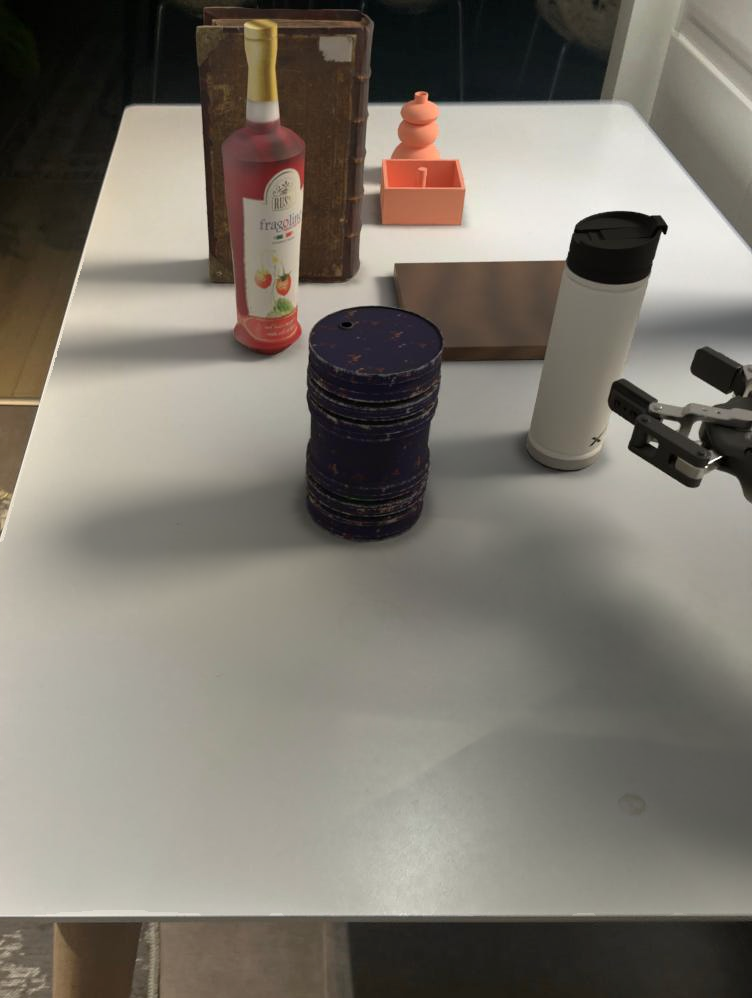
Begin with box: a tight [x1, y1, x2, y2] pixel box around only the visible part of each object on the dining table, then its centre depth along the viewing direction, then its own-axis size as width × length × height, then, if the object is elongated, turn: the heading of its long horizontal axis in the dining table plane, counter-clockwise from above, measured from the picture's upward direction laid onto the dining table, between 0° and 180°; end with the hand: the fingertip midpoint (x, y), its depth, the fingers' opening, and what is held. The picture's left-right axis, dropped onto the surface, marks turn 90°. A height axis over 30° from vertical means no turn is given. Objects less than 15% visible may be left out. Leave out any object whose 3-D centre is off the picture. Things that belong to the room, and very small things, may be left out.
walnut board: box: [393, 259, 566, 362], centre depth 99 cm, size 20×18×2 cm
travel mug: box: [526, 210, 669, 471], centre depth 76 cm, size 6×7×20 cm
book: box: [195, 6, 375, 283], centre depth 98 cm, size 17×7×25 cm, turn 82°
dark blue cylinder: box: [304, 305, 444, 543], centre depth 73 cm, size 10×10×15 cm
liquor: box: [221, 20, 305, 355], centre depth 86 cm, size 7×7×28 cm
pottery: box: [379, 91, 467, 226], centre depth 118 cm, size 18×10×10 cm, turn 177°
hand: (655, 374), depth 72 cm, fingers open, 8 cm apart
